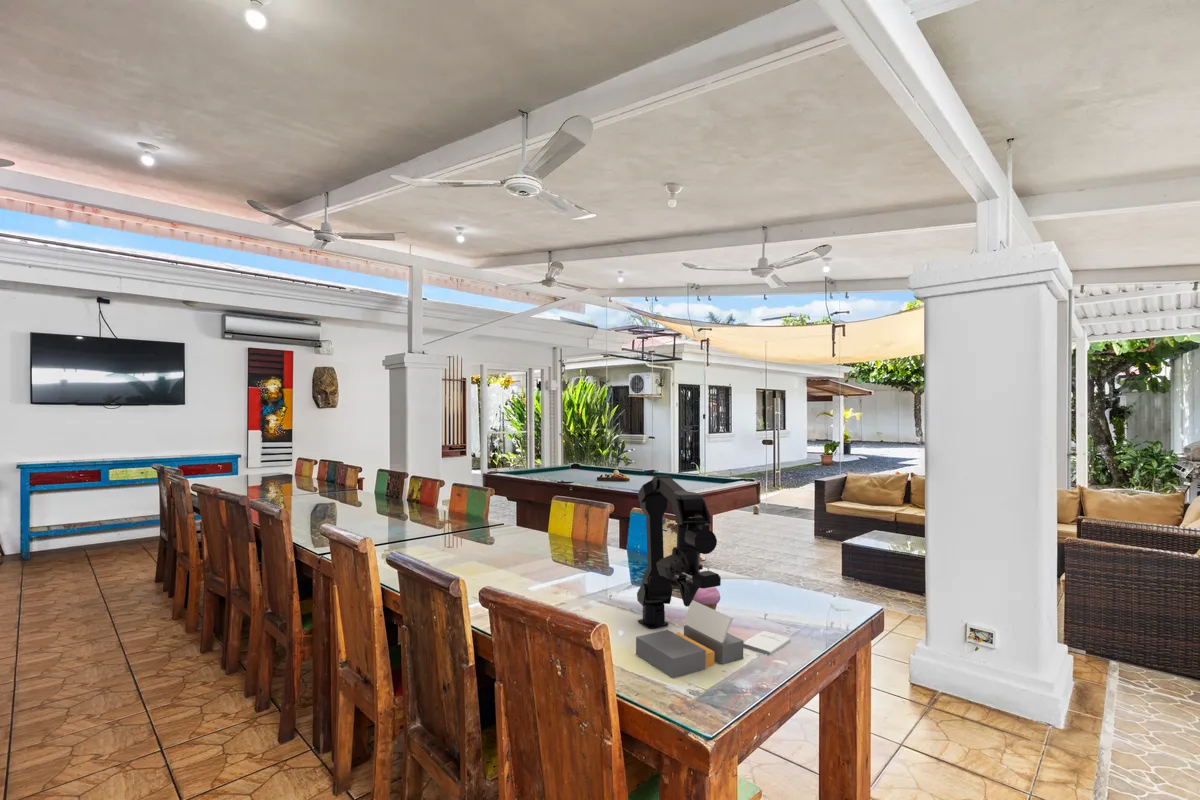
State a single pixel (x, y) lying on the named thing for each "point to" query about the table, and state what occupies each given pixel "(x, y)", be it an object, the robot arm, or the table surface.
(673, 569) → the robot arm
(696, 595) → the cupcake
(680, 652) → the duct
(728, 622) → the panel
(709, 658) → the orange bar
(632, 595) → the table surface
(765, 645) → the external hard drive
